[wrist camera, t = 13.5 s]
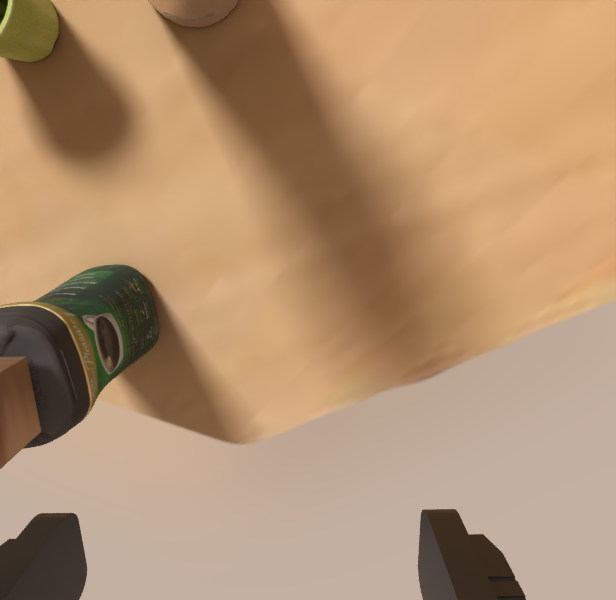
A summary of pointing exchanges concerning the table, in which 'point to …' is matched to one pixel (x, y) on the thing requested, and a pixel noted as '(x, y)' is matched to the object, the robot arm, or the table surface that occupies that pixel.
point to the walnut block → (16, 408)
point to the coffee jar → (79, 341)
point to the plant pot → (27, 29)
